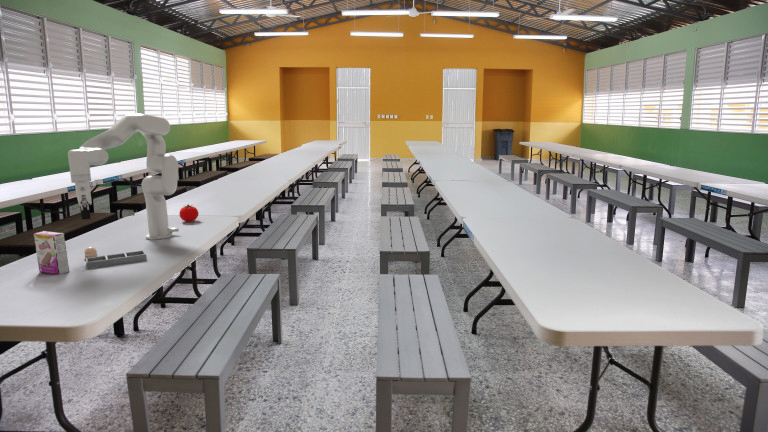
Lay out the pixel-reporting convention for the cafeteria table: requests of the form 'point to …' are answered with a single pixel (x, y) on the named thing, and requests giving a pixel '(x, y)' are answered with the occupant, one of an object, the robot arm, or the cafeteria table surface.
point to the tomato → (188, 213)
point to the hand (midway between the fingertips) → (85, 217)
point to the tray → (115, 259)
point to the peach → (90, 252)
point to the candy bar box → (51, 252)
